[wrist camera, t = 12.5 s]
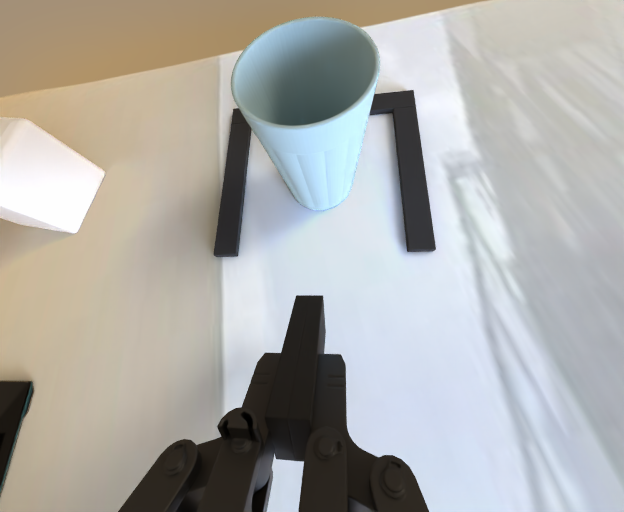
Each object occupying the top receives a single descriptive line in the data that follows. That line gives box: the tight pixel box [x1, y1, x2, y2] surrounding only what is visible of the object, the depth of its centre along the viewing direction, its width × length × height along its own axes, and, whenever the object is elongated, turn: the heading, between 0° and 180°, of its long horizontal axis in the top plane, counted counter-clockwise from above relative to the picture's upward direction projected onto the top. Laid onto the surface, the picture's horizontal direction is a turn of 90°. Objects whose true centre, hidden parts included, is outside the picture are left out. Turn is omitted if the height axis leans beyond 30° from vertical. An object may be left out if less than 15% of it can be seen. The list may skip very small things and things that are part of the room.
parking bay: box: [214, 90, 436, 257], centre depth 23 cm, size 16×18×1 cm
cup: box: [231, 17, 380, 210], centre depth 18 cm, size 8×8×10 cm
